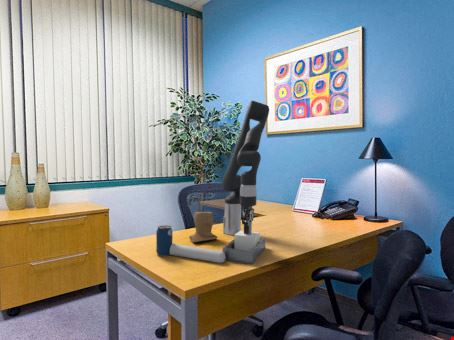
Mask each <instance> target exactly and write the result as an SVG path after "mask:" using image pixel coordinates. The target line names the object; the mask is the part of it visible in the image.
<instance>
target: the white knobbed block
mask: <svg viewBox="0 0 454 340" xmlns="http://www.w3.org/2000/svg"><path fill="white" fill-rule="evenodd" d="M252 226H253V221H252V222H249V233H248V234H245V233H244V230H241V231H239V232H238V233H236V234H235V235H233V236H234V238H233V240H234V249H239V250H247V251H251V250H252V249H253V248H254V247H255V246H256V245H257V244H258V243H259V242H260V241H261V232H260V231H252Z"/></svg>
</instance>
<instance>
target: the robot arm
mask: <svg viewBox="0 0 454 340" xmlns="http://www.w3.org/2000/svg"><path fill="white" fill-rule="evenodd" d="M269 114H270V107H269V105H267V104H265V103H261V102H259V101H256V100H250V102H249V103H248V106H247V109H246V111H245V115H244V119H243V123H242V126H241V129H240V132H239V135H238V137H237V140H236V143H235V146H234V149H233V153H232V155H231V158H230V161H229V163H228V166H227V169H226V170H225V173H224V176H223V178H222V180H221V185H222V189H223V190H224V192H230V193H229V195H227V196H226V197H225V198H224V216H223V222H222V224H223V225H222V227H223V228H222V234H225V235H230V236H234V235H235V234H236V233H238V232H239V231H242V228H241V227H242V226H243V231H244V233H245V234H248V233H249V222H252V223H253V221H254V215H255V208H254V207H255V206H257V193H258V192H257V174H258V169H259V166H260V162H261V159H262V156H261V154H260V152H259V151H258V150H259V148H260V143H261V139H262V135H263V132H264V129H265V126H266V124H267V120H268V118H269ZM251 120H252V121H255V122H258V123H257V124H256V125H255V126H253V127H252V128H251V125H250V124H251ZM242 167H251V168H250V169H249V170H248V171H247V170H246V171H243V172H241V173H240V174H238V172H239V170H240V169H241V168H242ZM242 206H243V209H242Z"/></svg>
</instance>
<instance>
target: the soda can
mask: <svg viewBox="0 0 454 340" xmlns="http://www.w3.org/2000/svg"><path fill="white" fill-rule="evenodd" d="M155 232H156V239H155V240H156V241H155V242H156V243H155V244H156V245H155V249H156V250H155V252H156V254H157V255H158V256H159V257H160V256H161V257H167V256H170V255H171V254H170V247H171V244H173V233H174V232H173V229H172V226H171V225H158V226H157V229H156V231H155Z"/></svg>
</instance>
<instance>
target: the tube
mask: <svg viewBox="0 0 454 340" xmlns="http://www.w3.org/2000/svg"><path fill="white" fill-rule="evenodd" d="M170 255H171V256H176V257H182V258H187V259H193V260H199V261H206V262H211V263H216V264H223V263H224V262H226V261H225V259H226V257H225V253H224V252H222V250H217V249H216V250H215V249H209V248H204V247H197V246H192V245H191V246H190V245H184V244H178V243H175V242H174V243H173V242H172V244H171V247H170Z"/></svg>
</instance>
